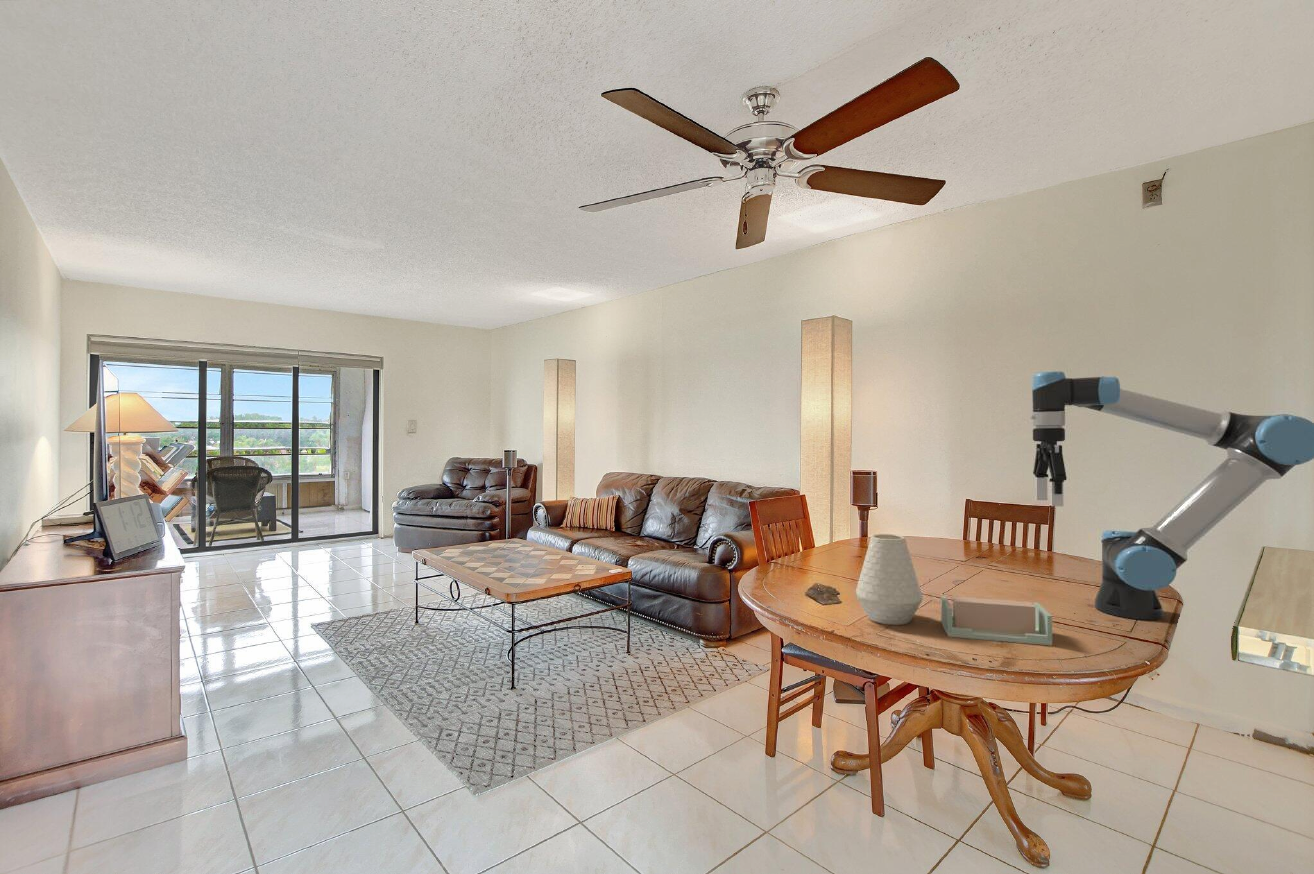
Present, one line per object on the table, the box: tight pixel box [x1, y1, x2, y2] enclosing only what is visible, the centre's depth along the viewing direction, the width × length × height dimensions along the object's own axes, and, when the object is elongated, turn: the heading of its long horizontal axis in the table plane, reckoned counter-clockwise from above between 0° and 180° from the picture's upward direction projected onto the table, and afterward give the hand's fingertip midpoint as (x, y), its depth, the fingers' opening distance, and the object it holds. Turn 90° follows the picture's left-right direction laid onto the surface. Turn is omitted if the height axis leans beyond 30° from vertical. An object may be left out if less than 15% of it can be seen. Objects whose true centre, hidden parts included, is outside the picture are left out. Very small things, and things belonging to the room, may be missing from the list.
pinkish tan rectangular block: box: [952, 596, 1036, 634], centre depth 152 cm, size 18×4×7 cm, turn 71°
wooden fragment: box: [804, 582, 843, 606], centre depth 190 cm, size 26×11×1 cm, turn 167°
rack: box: [940, 595, 1053, 646], centre depth 152 cm, size 23×12×7 cm, turn 72°
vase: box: [855, 533, 924, 626], centre depth 164 cm, size 17×17×23 cm
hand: (1049, 503), depth 165 cm, fingers open, 13 cm apart
